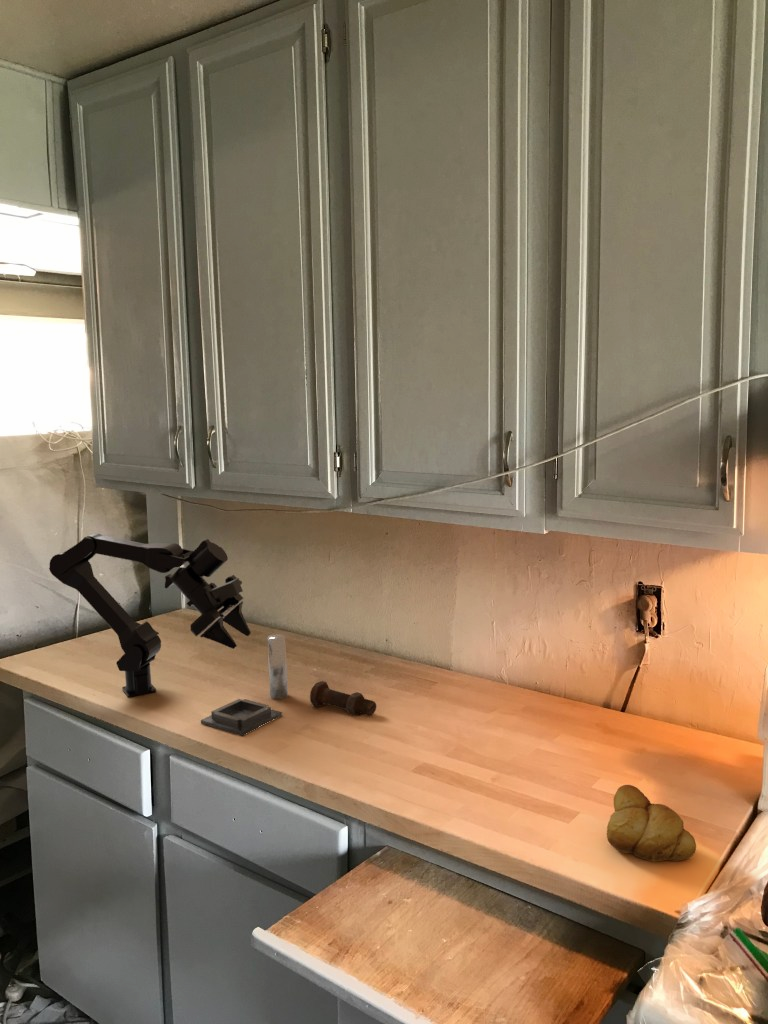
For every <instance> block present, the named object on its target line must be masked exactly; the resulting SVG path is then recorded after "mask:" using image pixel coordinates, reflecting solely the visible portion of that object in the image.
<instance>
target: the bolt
mask: <svg viewBox="0 0 768 1024" xmlns="http://www.w3.org/2000/svg"><path fill="white" fill-rule="evenodd" d="M309 697H310V698H309V701H310V703H311V705H312V706H313V707H316V708H319V707H322V706H323V705H329V706H333V707H336V708H340V709H343V710H345V711H347V712H348V714H349V715H350V714H351V716H354V715H355V716H358V715H359V713H360V714H362V715H365V716H368V717H370V716H372V715H373V714H374V713H375V712H376V710H377V704H376V702H375V701H374V700H372V699H371V700H370V699H367V698H365V696H364V695H363V693H361V692H358V691H357V692H356V691H355V692H353V693H351V694H349V693H345V692H342V691H341V692H340V691H338V690H333V689H332V688H330V687H329V685H328V682H327V681H323V680H320V681H318V682H315V684H314V685H313V686H312V688H311V690H310V694H309Z"/></svg>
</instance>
